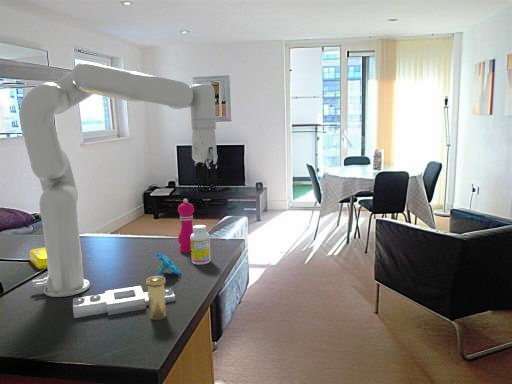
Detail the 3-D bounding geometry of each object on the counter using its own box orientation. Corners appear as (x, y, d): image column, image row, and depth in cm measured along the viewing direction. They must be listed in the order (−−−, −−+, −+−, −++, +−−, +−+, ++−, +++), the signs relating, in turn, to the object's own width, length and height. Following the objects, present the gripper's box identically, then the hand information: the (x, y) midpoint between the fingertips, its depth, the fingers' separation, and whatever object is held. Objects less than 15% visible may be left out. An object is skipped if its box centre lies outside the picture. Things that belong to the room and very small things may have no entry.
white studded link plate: (73, 321, 114) (72, 307, 113) (74, 306, 123) (73, 293, 122) (176, 303, 123) (175, 290, 122) (170, 291, 132) (169, 279, 131)
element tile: (29, 261, 165) (27, 248, 164) (71, 253, 174) (70, 240, 173) (38, 271, 153) (37, 258, 152) (84, 262, 162) (82, 249, 161)
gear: (184, 275, 142) (160, 255, 139) (171, 289, 141) (147, 270, 138) (179, 264, 152) (157, 246, 149) (167, 278, 152) (144, 259, 148)
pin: (149, 322, 112) (147, 283, 110) (147, 314, 117) (144, 277, 115) (169, 318, 114) (166, 280, 112) (165, 311, 118) (163, 274, 117)
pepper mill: (199, 251, 170) (197, 199, 167) (180, 254, 167) (177, 201, 164) (195, 246, 177) (192, 196, 173) (176, 249, 174) (173, 197, 171)
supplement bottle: (194, 258, 161) (193, 223, 159) (212, 259, 160) (211, 224, 158) (189, 265, 155) (187, 228, 153) (208, 265, 154) (206, 228, 152)
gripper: (183, 125, 146) (185, 177, 149) (202, 125, 131) (205, 184, 134) (204, 124, 150) (206, 175, 153) (226, 124, 135) (228, 181, 137)
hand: (206, 179), depth 143 cm, fingers open, 9 cm apart
